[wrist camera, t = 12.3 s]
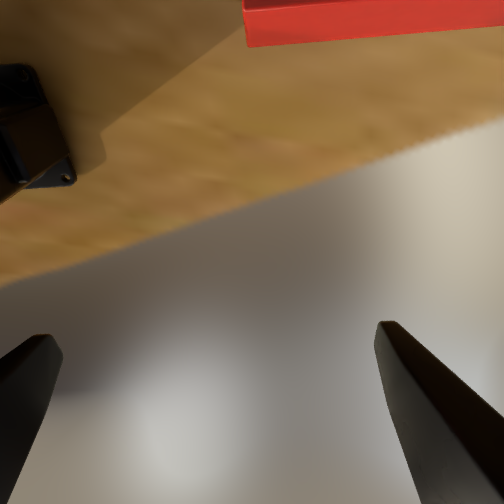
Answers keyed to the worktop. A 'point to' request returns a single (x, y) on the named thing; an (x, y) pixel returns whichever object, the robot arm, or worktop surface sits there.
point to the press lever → (360, 18)
